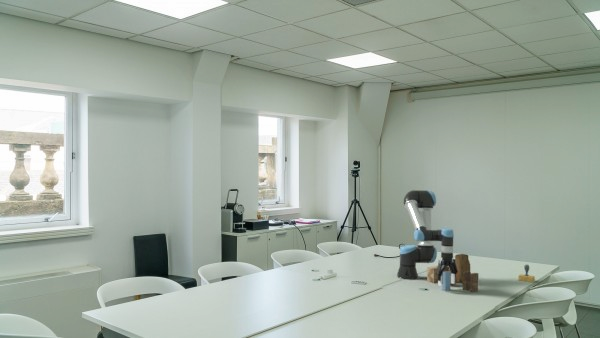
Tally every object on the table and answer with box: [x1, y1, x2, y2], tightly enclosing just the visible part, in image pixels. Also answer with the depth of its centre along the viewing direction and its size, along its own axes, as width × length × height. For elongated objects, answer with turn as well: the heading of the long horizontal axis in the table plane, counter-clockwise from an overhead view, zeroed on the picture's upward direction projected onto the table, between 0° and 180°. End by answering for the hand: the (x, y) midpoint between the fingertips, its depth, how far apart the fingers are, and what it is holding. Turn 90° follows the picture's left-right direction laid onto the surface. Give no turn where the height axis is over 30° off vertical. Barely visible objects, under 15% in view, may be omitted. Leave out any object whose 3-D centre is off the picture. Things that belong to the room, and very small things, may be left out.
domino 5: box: [469, 272, 479, 293], centre depth 304 cm, size 2×5×12 cm, turn 122°
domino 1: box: [442, 266, 449, 285], centre depth 324 cm, size 2×5×12 cm, turn 122°
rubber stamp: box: [517, 264, 536, 283], centre depth 340 cm, size 10×6×12 cm, turn 52°
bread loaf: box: [454, 253, 471, 284], centre depth 330 cm, size 11×8×20 cm
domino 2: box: [442, 271, 451, 291], centre depth 307 cm, size 2×5×12 cm, turn 122°
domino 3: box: [449, 268, 457, 287], centre depth 319 cm, size 2×5×12 cm, turn 122°
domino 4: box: [462, 270, 471, 291], centre depth 309 cm, size 2×5×12 cm, turn 122°
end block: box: [426, 265, 442, 284], centre depth 331 cm, size 6×12×10 cm, turn 122°
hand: (446, 284), depth 307 cm, fingers open, 12 cm apart
